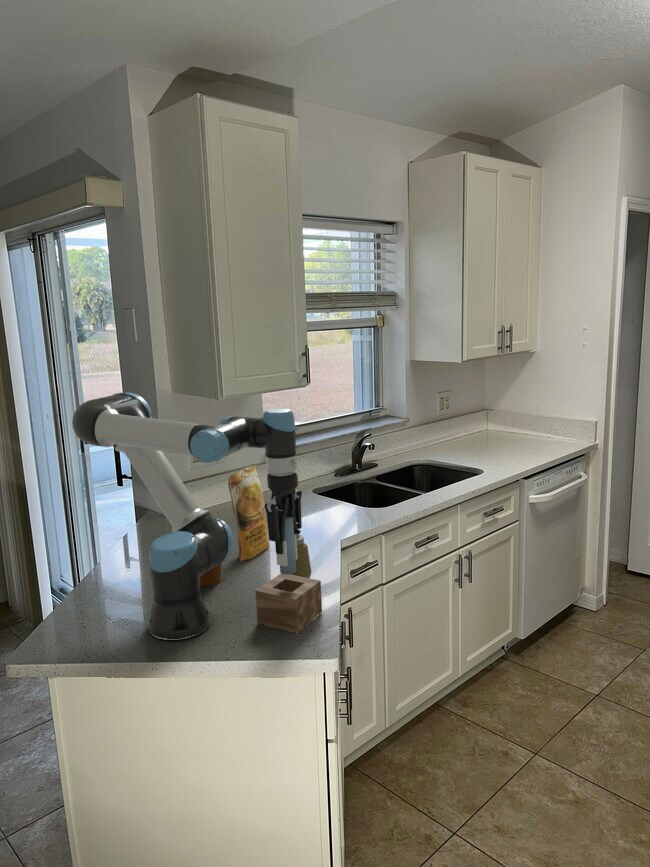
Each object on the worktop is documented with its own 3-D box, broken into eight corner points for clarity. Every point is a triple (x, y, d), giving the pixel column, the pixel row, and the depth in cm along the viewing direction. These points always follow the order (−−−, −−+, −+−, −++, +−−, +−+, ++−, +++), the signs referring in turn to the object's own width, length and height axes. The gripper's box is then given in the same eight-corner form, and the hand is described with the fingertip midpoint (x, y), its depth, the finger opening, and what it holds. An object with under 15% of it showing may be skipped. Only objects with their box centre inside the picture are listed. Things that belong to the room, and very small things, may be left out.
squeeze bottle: (296, 576, 198) (293, 518, 195) (317, 583, 193) (315, 523, 189) (278, 586, 192) (274, 526, 188) (299, 593, 187) (295, 532, 183)
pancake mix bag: (226, 561, 212) (220, 475, 206) (259, 541, 228) (254, 461, 223) (244, 564, 209) (238, 477, 203) (276, 543, 225) (271, 462, 220)
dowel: (290, 575, 168) (287, 522, 165) (277, 572, 170) (273, 519, 167) (299, 569, 171) (296, 517, 168) (285, 567, 173) (282, 515, 170)
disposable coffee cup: (194, 590, 192) (191, 551, 189) (191, 577, 201) (188, 539, 198) (227, 585, 194) (224, 546, 192) (223, 573, 203) (220, 535, 201)
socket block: (297, 633, 165) (295, 599, 163) (257, 623, 171) (255, 590, 169) (322, 612, 175) (320, 580, 173) (283, 604, 181) (281, 572, 179)
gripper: (275, 482, 156) (281, 576, 161) (313, 465, 170) (317, 552, 175) (249, 479, 160) (255, 571, 164) (288, 462, 174) (293, 548, 179)
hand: (287, 561), depth 170 cm, fingers closed on dowel, 4 cm apart
